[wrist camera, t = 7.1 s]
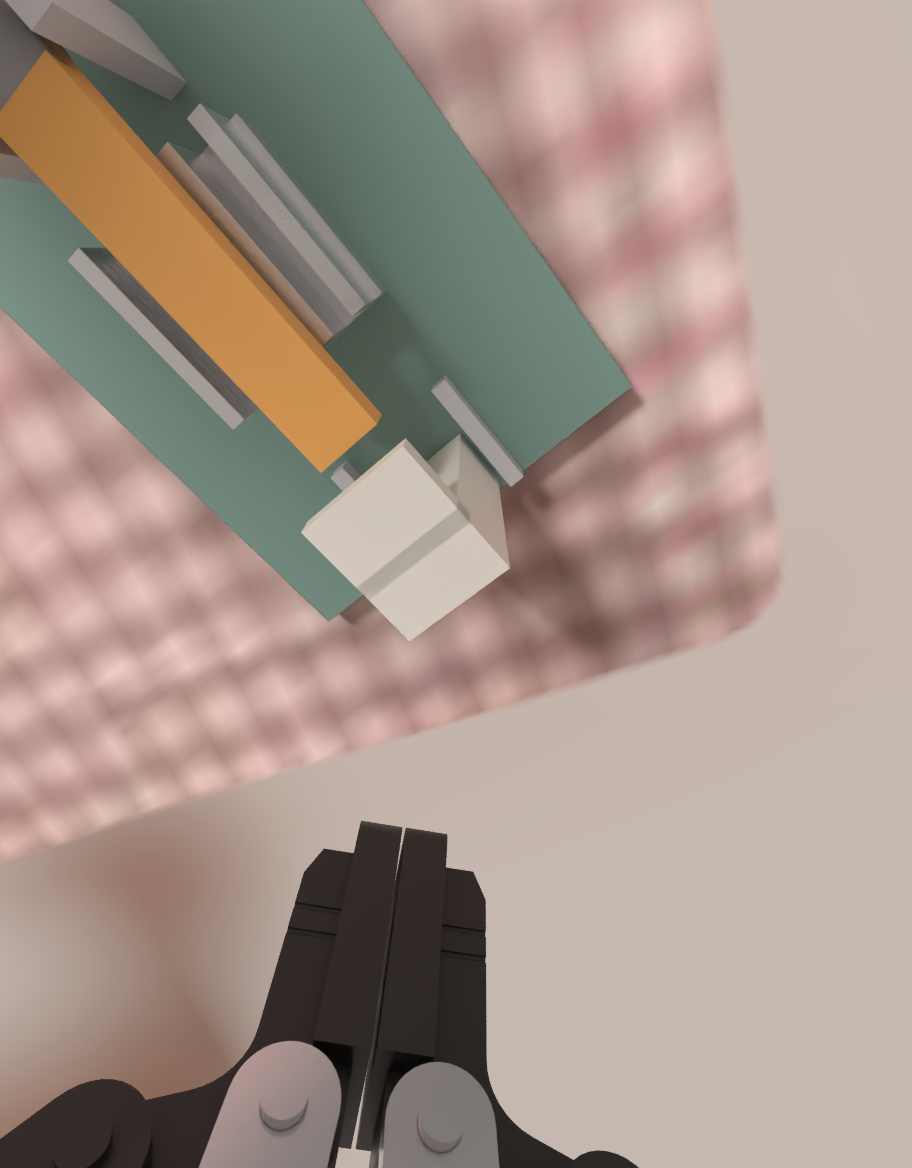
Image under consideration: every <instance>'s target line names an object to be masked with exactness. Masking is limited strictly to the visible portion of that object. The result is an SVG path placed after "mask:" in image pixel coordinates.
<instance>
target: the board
mask: <svg viewBox="0 0 912 1168" xmlns="http://www.w3.org/2000/svg"><path fill="white" fill-rule="evenodd" d="M5 1H6V2H7V3H8V5H9V6H10V7H11V8H12V9H13V10H14V11H15V12H16V14H17V15H18V16H19V17H20V18H21V19H22V20H23V22H24V23H25V24H26V25H27V26H28V27H29V28H30V29H31V31H33V32H35V33H37V34H39V35H41V36H43V37H45V38H47V39H49V40H51V41H53V42H55V43H57V44H59V45H61V46H63V47H65V48H66V49H65V50H66V51H67V53H68V54H69V56H70V57H71V59H72V61H73V63H74V64H75V65H76V66H77V67H78V68H79V70H80V71H81V72H82V73H83V74H84V75H85V76H86V78H87V79H88V80H89V81H90V82H91V83H92V84H93V86H94V87H95V88H96V89H97V90H98V91H99V92H100V94H101V95H102V96H103V97H104V98H105V99H106V100H107V102H108V103H109V104H110V105H111V106H112V107H113V108H114V110H115V111H116V112H117V113H118V114H119V115H120V116H121V118H122V119H123V120H124V121H125V122H126V123H127V124H128V126H129V127H130V128H131V129H132V130H133V131H134V132H135V134H136V135H137V136H138V137H139V138H140V139H141V140H142V141H143V143H144V144H145V145H146V146H147V147H148V148H149V149H150V151H151V152H152V153H153V154H154V155H155V156H156V155H157V154H158V152H159V151H160V150H161V149H162V148H163V146H164V145H165V144H166V143H167V142H170V143H173V144H176V145H179V146H181V147H184V148H187V149H190V150H192V151H195V152H198V153H202V152H203V151H204V150H205V149H206V148H207V146H208V143H207V142H206V141H205V140H204V139H203V137H202V136H201V135H200V134H199V133H198V131H197V130H196V129H195V128H194V127H193V125H192V124H191V123H190V122H189V121H188V120H187V118H188V117H189V115H190V114H191V113H192V112H193V111H194V109H195V108H196V107H197V106H198V105H199V104H200V103H201V104H202V105H204V106H206V107H208V108H210V109H212V110H213V111H215V112H217V113H219V114H221V115H223V116H224V117H226V118H228V119H230V120H231V119H232V117H233V116H234V115H235V114H236V113H237V114H239V115H241V116H243V117H244V118H246V119H248V120H249V121H251V122H253V123H254V124H255V125H256V126H257V127H258V128H259V130H260V131H261V132H262V133H263V135H264V136H265V137H266V138H267V140H268V141H269V142H270V143H271V145H272V146H273V147H274V148H275V150H276V151H277V152H278V153H279V154H280V156H281V157H282V158H283V159H284V161H285V162H286V163H287V164H288V166H289V167H290V168H291V169H292V171H293V172H294V173H295V174H296V176H297V177H298V178H299V179H300V181H301V182H302V183H303V184H304V186H305V187H306V188H307V189H308V191H309V192H310V193H311V194H312V195H313V197H314V198H315V199H316V200H317V202H318V203H319V204H320V205H321V207H322V208H323V209H324V210H325V212H326V213H327V214H328V215H329V217H330V218H331V219H332V220H333V222H334V223H335V224H336V225H337V227H338V228H339V229H340V230H341V232H342V233H343V234H344V235H345V236H346V238H347V239H348V240H349V241H350V243H351V244H352V245H353V246H354V248H355V249H356V250H357V251H358V253H359V254H360V255H361V256H362V258H363V259H364V260H365V261H366V263H367V264H368V265H369V266H370V268H371V269H372V270H373V271H374V273H375V274H376V275H377V276H378V277H379V279H380V280H381V281H382V282H383V284H384V285H385V286H386V287H387V289H388V290H387V291H386V292H385V293H384V294H383V295H382V296H381V297H380V298H379V299H378V300H377V301H376V302H375V303H374V304H373V305H372V306H371V307H370V308H368V309H367V310H366V311H365V312H364V313H363V314H362V315H361V316H360V317H359V318H358V319H357V320H356V321H355V322H354V323H353V324H352V325H351V326H349V327H348V328H347V329H346V330H345V331H344V332H343V333H342V334H341V335H340V336H339V337H338V338H337V339H336V340H335V341H334V342H333V343H331V344H330V345H329V346H328V347H327V348H326V349H325V350H326V351H327V353H328V354H329V355H330V356H331V357H332V358H333V359H334V360H335V362H336V363H337V364H338V365H339V366H340V367H341V368H342V370H343V371H344V372H345V373H346V374H347V375H348V376H349V378H350V379H351V380H352V381H353V382H354V383H355V384H356V386H357V387H358V388H359V389H360V390H361V391H362V392H363V394H364V395H365V396H366V397H367V398H368V399H369V400H370V402H371V403H372V404H373V405H374V406H375V407H376V408H377V410H378V411H379V412H380V413H381V414H382V415H381V417H380V419H379V421H378V423H377V425H375V426H374V427H373V428H372V429H371V430H370V431H369V432H367V433H366V434H365V435H364V436H363V437H362V438H361V439H359V440H358V441H357V442H356V443H355V444H354V445H353V446H351V447H350V448H349V449H348V450H347V451H346V452H345V453H343V454H342V455H341V456H340V457H339V458H338V459H336V460H335V461H334V462H333V463H332V464H331V465H330V466H328V467H327V468H326V469H325V470H324V471H323V472H322V473H320V472H319V471H318V470H317V468H316V467H315V466H314V465H313V464H312V463H311V462H310V461H309V460H308V459H307V458H306V457H305V456H304V455H303V454H302V453H301V452H300V451H299V450H298V449H297V448H296V446H295V445H294V444H293V443H292V442H291V441H290V440H289V439H288V438H287V437H286V436H285V435H284V434H283V433H282V432H281V431H280V430H279V429H278V428H277V427H276V425H275V424H274V423H273V422H272V421H271V420H270V419H269V418H268V417H267V416H266V415H265V414H264V413H263V412H262V411H261V410H260V411H258V412H257V413H256V414H255V415H253V416H252V417H251V418H248V419H247V420H246V421H244V422H243V423H242V424H240V425H239V426H238V427H237V428H235V429H234V430H233V429H232V428H231V427H230V426H229V425H228V424H227V423H226V422H225V421H224V420H223V419H222V418H221V417H220V416H219V415H218V414H217V413H216V412H215V411H214V410H213V409H212V408H211V407H210V406H209V405H208V404H207V403H206V402H205V401H204V400H203V399H202V398H201V397H200V396H199V395H198V394H197V393H196V392H195V391H194V390H193V388H192V387H191V386H190V385H189V384H188V383H187V382H186V381H185V380H184V379H183V378H182V377H181V376H180V375H179V374H178V373H177V372H176V371H175V370H174V369H173V368H172V367H171V366H170V365H169V364H168V363H167V362H166V361H165V360H164V359H163V358H162V357H161V356H160V355H159V354H158V353H157V352H156V351H155V350H154V349H153V348H152V347H151V346H150V345H149V344H148V342H147V341H146V340H145V339H144V338H143V337H142V336H141V335H140V334H139V333H138V332H137V331H136V330H135V329H134V328H133V327H132V326H131V325H130V324H129V323H128V322H127V321H126V320H125V319H124V318H123V317H122V316H121V315H120V314H119V313H118V312H117V311H116V310H115V309H114V308H113V307H112V306H111V305H110V304H109V303H108V302H107V301H106V300H105V299H104V298H103V296H102V295H101V294H100V293H99V292H98V291H97V290H96V289H95V288H94V287H93V286H92V285H91V284H90V283H89V282H88V281H87V280H86V279H85V278H84V277H83V276H82V275H81V274H80V273H79V272H78V271H77V270H76V269H75V268H74V267H73V266H72V265H71V264H70V263H69V262H68V260H69V258H70V257H71V256H72V255H73V254H74V252H75V251H76V250H77V249H78V248H106V247H105V246H104V245H103V244H102V243H101V242H100V241H99V240H98V239H97V238H96V237H95V236H94V235H93V234H92V233H91V231H90V230H89V229H88V228H87V227H86V226H85V225H84V224H83V223H82V222H81V221H80V220H79V219H78V218H77V217H76V216H75V215H74V214H73V213H72V212H71V210H70V209H69V208H68V207H67V206H66V205H65V204H64V203H63V202H62V201H61V200H60V199H59V198H58V197H57V196H56V195H55V194H54V193H53V192H52V191H51V189H50V188H49V187H48V186H47V185H46V184H45V183H44V182H43V181H42V180H41V179H40V178H39V177H38V176H37V175H36V174H35V173H34V172H33V171H32V170H31V169H30V167H29V166H28V165H27V164H26V163H25V162H24V161H23V160H22V159H21V158H20V157H19V156H18V155H17V154H16V153H15V152H14V151H13V150H12V149H11V148H10V146H9V145H8V144H7V143H6V142H5V141H4V140H3V139H2V138H1V137H0V308H1V309H2V310H3V311H4V312H5V313H6V314H7V315H8V316H9V317H11V318H12V319H13V320H14V321H15V322H16V323H17V324H18V325H19V326H20V327H21V328H22V329H23V330H24V331H25V332H26V333H27V334H28V335H29V336H30V337H31V338H33V339H34V340H35V341H36V342H37V343H38V344H39V345H40V346H41V347H42V348H43V349H44V350H45V351H46V352H47V353H48V354H49V355H50V356H51V357H52V358H53V359H54V360H56V361H57V362H58V363H59V364H60V365H61V366H62V367H63V368H64V369H65V370H66V371H67V372H68V373H69V374H70V375H71V376H72V377H73V378H74V379H75V380H76V381H77V382H79V383H80V384H81V385H82V386H83V387H84V388H85V389H86V390H87V391H88V392H89V393H90V394H91V395H92V396H93V397H94V398H95V399H96V400H97V401H98V402H99V403H100V404H102V405H103V406H104V407H105V408H106V409H107V410H108V411H109V412H110V413H111V414H112V415H113V416H114V417H115V418H116V419H117V420H118V421H119V422H120V423H121V424H122V425H124V426H125V427H126V428H127V429H128V430H129V431H130V432H131V433H132V434H133V435H134V436H135V437H136V438H137V439H138V440H139V441H140V442H141V443H142V444H143V445H144V446H145V447H147V448H148V449H149V450H150V451H151V452H152V453H153V454H154V455H155V456H156V457H157V458H158V459H159V460H160V461H161V462H162V463H163V464H164V465H165V466H166V467H167V468H168V469H170V470H171V471H172V472H173V473H174V474H175V475H176V476H177V477H178V478H179V479H180V480H181V481H182V482H183V483H184V484H185V485H186V486H187V487H188V488H189V489H190V490H192V491H193V492H194V493H195V494H196V495H197V496H198V497H199V498H200V499H201V500H202V501H203V502H204V503H205V504H206V505H207V506H208V507H209V508H210V509H211V510H212V511H213V512H215V513H216V514H217V515H218V516H219V517H220V518H221V519H222V520H223V521H224V522H225V523H226V524H227V525H228V526H229V527H230V528H231V529H232V530H233V531H234V532H235V533H236V534H238V535H239V536H240V537H241V538H242V539H243V540H244V541H245V542H246V543H247V544H248V545H249V546H250V547H251V548H252V549H253V550H254V551H255V552H256V553H257V554H258V555H259V556H261V557H262V558H263V559H264V560H265V561H266V562H267V563H268V564H269V565H270V566H271V567H272V568H273V569H274V570H275V571H276V572H277V573H278V574H279V575H280V576H281V577H283V578H284V579H285V580H286V581H287V582H288V583H289V584H290V585H291V586H292V587H293V588H294V589H295V590H296V591H297V592H298V593H299V594H300V595H301V596H302V597H303V598H304V599H306V600H307V601H308V602H309V603H310V604H311V605H312V606H313V607H314V608H315V609H316V610H317V611H318V612H319V613H320V614H321V615H322V616H323V617H324V618H325V619H326V620H327V621H330V620H332V619H333V618H334V617H335V616H337V615H338V614H339V613H341V612H342V611H343V610H344V609H346V608H347V607H348V606H350V605H351V604H352V603H353V602H355V601H356V600H357V599H359V598H360V597H361V596H363V594H362V593H361V592H360V591H359V590H358V589H357V588H356V587H355V586H354V585H353V584H352V583H351V582H350V581H349V580H348V579H347V578H346V577H345V576H344V575H343V574H342V573H341V572H340V571H339V570H338V569H337V568H336V567H335V566H334V565H333V564H332V563H331V562H330V561H329V560H328V559H327V558H326V557H325V556H324V555H323V554H322V553H321V552H320V551H319V550H318V549H317V548H316V547H315V546H314V545H313V544H312V543H311V542H310V541H309V540H308V539H307V538H306V537H305V536H304V535H303V534H302V533H301V532H302V530H303V528H304V527H305V525H306V523H307V521H309V520H310V519H311V518H312V517H313V516H315V515H316V514H317V513H318V512H319V511H320V510H322V509H323V508H324V507H325V506H326V505H328V504H329V503H330V502H331V501H332V500H333V499H335V498H336V497H337V496H338V495H339V494H340V493H342V492H343V491H344V490H345V489H346V488H348V487H349V486H350V485H351V484H352V483H353V482H355V481H356V480H357V479H358V478H359V477H361V476H362V475H363V474H364V473H365V472H366V471H368V470H369V469H370V468H371V467H372V466H373V465H375V464H376V463H377V462H378V461H379V460H381V459H382V458H383V457H384V456H385V455H386V454H388V453H389V452H390V451H391V450H392V449H394V448H395V447H396V446H397V445H398V444H399V443H401V442H402V441H403V440H404V439H405V438H406V439H407V440H408V441H409V443H410V444H411V445H412V446H413V447H414V448H415V449H416V451H417V452H418V453H419V454H420V455H421V456H422V457H423V459H424V460H425V461H427V460H428V459H430V458H431V457H432V456H433V455H435V454H436V453H437V452H438V451H439V450H441V449H442V448H443V447H444V446H445V445H447V444H448V443H449V442H450V441H451V440H453V439H454V438H455V437H456V436H458V435H459V434H460V433H461V435H462V436H463V437H464V438H465V439H466V441H467V442H468V443H469V444H470V445H471V447H472V448H473V449H474V450H475V451H476V453H477V454H478V455H479V456H480V457H481V459H482V460H483V461H484V462H485V463H486V465H487V466H488V467H489V468H490V469H491V471H492V472H493V473H494V474H495V475H496V477H497V478H498V482H499V489H501V488H502V487H503V486H504V485H506V484H507V483H508V484H509V486H510V487H511V486H513V485H514V484H515V483H517V482H518V481H519V480H520V479H522V478H523V477H524V475H523V471H524V470H525V469H526V468H528V467H529V466H530V465H531V464H533V463H534V462H535V461H537V460H538V459H539V458H541V457H542V456H543V455H544V454H546V453H547V452H548V451H550V450H551V449H552V448H553V447H555V446H556V445H557V444H559V443H560V442H561V441H562V440H564V439H565V438H566V437H568V436H569V435H570V434H571V433H573V432H574V431H575V430H577V429H578V428H579V427H580V426H582V425H583V424H584V423H586V422H587V421H588V420H590V419H591V418H592V417H593V416H595V415H596V414H597V413H599V412H600V411H601V410H602V409H604V408H605V407H606V406H608V405H609V404H610V403H611V402H613V401H614V400H615V399H617V398H618V397H619V396H620V395H622V394H623V393H624V392H626V391H627V390H628V389H630V388H631V387H632V385H631V384H630V382H629V381H628V379H627V378H626V376H625V375H624V374H623V372H622V371H621V369H620V368H619V366H618V365H617V364H616V362H615V361H614V359H613V358H612V356H611V355H610V354H609V352H608V351H607V349H606V348H605V346H604V345H603V344H602V342H601V341H600V339H599V338H598V336H597V335H596V334H595V332H594V331H593V329H592V328H591V326H590V325H589V324H588V322H587V321H586V319H585V318H584V316H583V315H582V314H581V312H580V311H579V309H578V308H577V306H576V305H575V304H574V302H573V301H572V299H571V298H570V296H569V295H568V294H567V292H566V291H565V289H564V288H563V286H562V285H561V284H560V282H559V281H558V279H557V278H556V276H555V275H554V274H553V272H552V271H551V269H550V268H549V266H548V265H547V264H546V262H545V261H544V259H543V258H542V256H541V255H540V254H539V252H538V251H537V249H536V248H535V246H534V245H533V244H532V242H531V241H530V239H529V238H528V236H527V235H526V234H525V232H524V231H523V229H522V228H521V226H520V225H519V224H518V222H517V221H516V219H515V218H514V216H513V215H512V214H511V212H510V211H509V209H508V208H507V206H506V205H505V204H504V202H503V201H502V199H501V198H500V196H499V195H498V194H497V192H496V191H495V189H494V188H493V186H492V185H491V184H490V182H489V181H488V179H487V178H486V176H485V175H484V174H483V172H482V171H481V169H480V168H479V166H478V165H477V164H476V162H475V161H474V159H473V158H472V156H471V155H470V154H469V152H468V151H467V149H466V148H465V146H464V145H463V144H462V142H461V141H460V139H459V138H458V136H457V135H456V134H455V132H454V131H453V129H452V128H451V126H450V125H449V124H448V122H447V121H446V119H445V118H444V116H443V115H442V114H441V112H440V111H439V109H438V108H437V106H436V105H435V104H434V102H433V101H432V99H431V98H430V96H429V95H428V94H427V92H426V91H425V89H424V88H423V86H422V85H421V84H420V82H419V81H418V79H417V78H416V76H415V75H414V74H413V72H412V71H411V69H410V68H409V66H408V65H407V64H406V62H405V61H404V59H403V58H402V56H401V55H400V54H399V52H398V51H397V49H396V48H395V46H394V45H393V44H392V42H391V41H390V39H389V38H388V36H387V35H386V34H385V32H384V31H383V29H382V28H381V26H380V25H379V24H378V22H377V21H376V19H375V18H374V16H373V15H372V14H371V12H370V11H369V9H368V8H367V6H366V5H365V4H364V2H363V1H362V0H5Z"/></svg>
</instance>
